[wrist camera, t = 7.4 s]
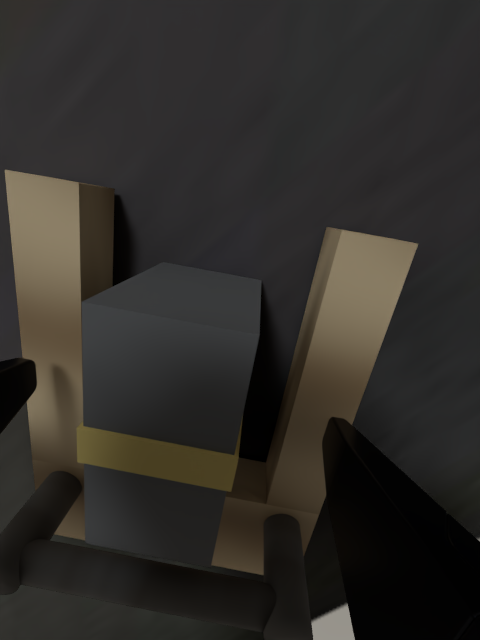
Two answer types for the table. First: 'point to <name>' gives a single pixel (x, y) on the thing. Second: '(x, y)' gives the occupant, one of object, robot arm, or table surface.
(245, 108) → the table surface
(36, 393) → the wooden u-shaped holder
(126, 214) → the table surface
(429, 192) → the table surface
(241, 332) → the banded grey block
